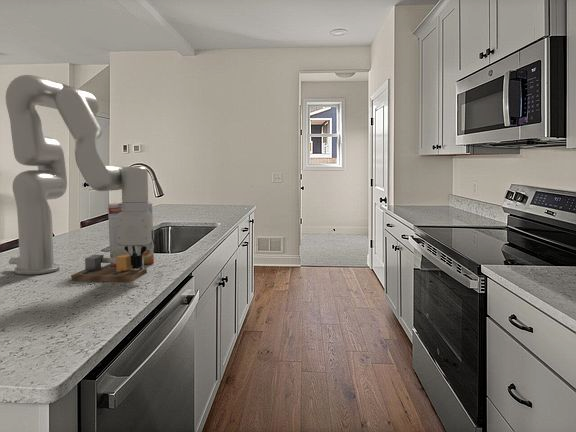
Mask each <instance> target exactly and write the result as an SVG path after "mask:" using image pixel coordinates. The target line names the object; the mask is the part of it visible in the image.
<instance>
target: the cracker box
mask: <svg viewBox="0 0 576 432" xmlns="http://www.w3.org/2000/svg"><path fill="white" fill-rule="evenodd" d="M118 204H121V202H117V203H116V202H115V203H108V204H107V211H108V213H107V214H108V215H107V216H108V237H109V238H108V241H109V258H116V257H117V256H120V255H124V254H129V253H128V252H127V251H126V250H124V249H120V248H118V245H119V244H118V243H117V225H118V217H119V213H120V212H122V209H121V208H118ZM148 212H150V213H151V217H152V222H154V221H153V220H154V219H153V203H152V202H150V201H148ZM147 246H148V245H147ZM135 248H136V253H137V246H135ZM142 259H144V265H152V264H154V263H155V261H154V260H155V255H154V248H153V249H150V250H146V251H145V252H144V253H143V254H142ZM109 264H110V267H116V263H109Z"/></svg>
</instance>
